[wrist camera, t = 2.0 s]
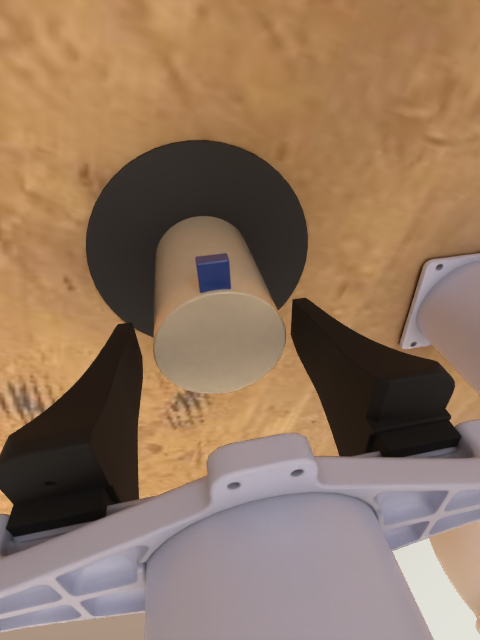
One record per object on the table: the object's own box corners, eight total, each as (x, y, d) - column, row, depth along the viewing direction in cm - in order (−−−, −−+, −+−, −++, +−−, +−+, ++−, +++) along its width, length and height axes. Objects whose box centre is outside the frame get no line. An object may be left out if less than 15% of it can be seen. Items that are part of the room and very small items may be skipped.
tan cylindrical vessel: (251, 322, 25) (282, 415, 18) (169, 334, 24) (173, 434, 18) (247, 188, 19) (290, 254, 13) (141, 199, 18) (132, 274, 12)
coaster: (315, 130, 18) (316, 131, 18) (299, 327, 26) (301, 330, 26) (50, 151, 17) (49, 153, 16) (119, 354, 25) (118, 357, 24)
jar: (380, 489, 45) (459, 645, 33) (439, 439, 40) (556, 602, 28) (435, 495, 49) (523, 635, 37) (494, 451, 44) (616, 596, 32)
